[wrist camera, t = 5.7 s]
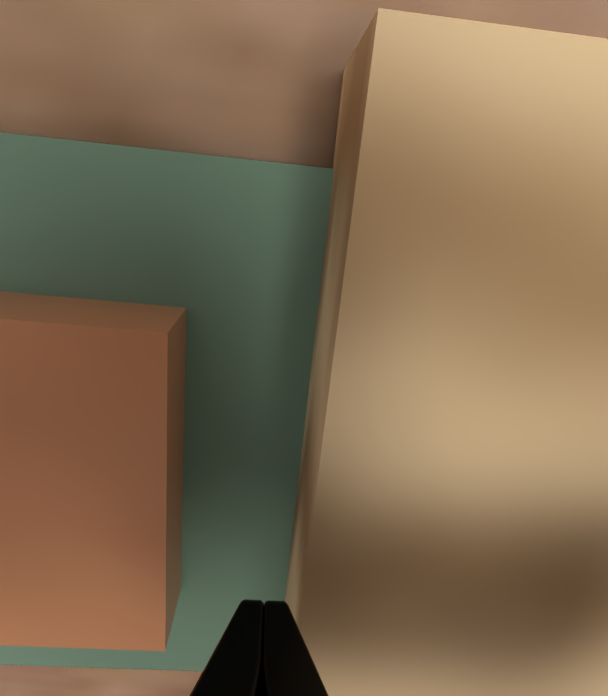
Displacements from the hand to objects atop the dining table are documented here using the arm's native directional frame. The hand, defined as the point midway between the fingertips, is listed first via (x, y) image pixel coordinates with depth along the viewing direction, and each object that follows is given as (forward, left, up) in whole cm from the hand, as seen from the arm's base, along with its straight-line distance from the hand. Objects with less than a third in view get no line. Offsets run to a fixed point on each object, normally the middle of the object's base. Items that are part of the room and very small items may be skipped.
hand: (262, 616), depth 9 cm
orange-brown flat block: (0, +5, -3) cm, 6 cm away
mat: (0, +4, -5) cm, 6 cm away
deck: (0, -6, -5) cm, 8 cm away
